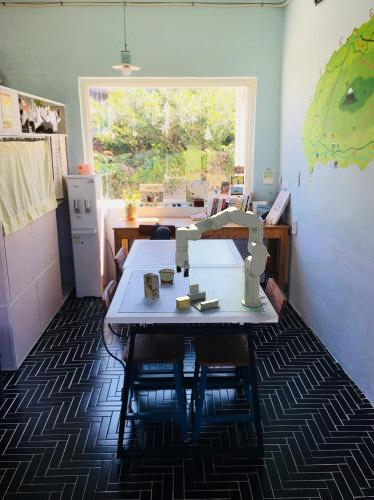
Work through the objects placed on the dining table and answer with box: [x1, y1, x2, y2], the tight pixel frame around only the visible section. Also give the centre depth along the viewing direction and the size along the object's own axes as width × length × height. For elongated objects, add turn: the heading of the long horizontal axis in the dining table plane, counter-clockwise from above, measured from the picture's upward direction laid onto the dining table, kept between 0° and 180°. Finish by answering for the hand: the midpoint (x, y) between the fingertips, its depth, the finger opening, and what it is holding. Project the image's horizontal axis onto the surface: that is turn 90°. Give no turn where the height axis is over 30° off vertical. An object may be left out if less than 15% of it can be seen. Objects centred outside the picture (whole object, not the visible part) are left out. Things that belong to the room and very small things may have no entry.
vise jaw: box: [186, 282, 207, 301], centre depth 274 cm, size 12×6×9 cm, turn 118°
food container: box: [158, 268, 176, 285], centre depth 306 cm, size 12×6×10 cm, turn 74°
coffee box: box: [142, 272, 160, 301], centre depth 278 cm, size 9×6×16 cm
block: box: [175, 295, 191, 312], centre depth 260 cm, size 8×4×7 cm, turn 118°
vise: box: [190, 296, 221, 313], centre depth 267 cm, size 14×20×5 cm
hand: (182, 274), depth 255 cm, fingers open, 9 cm apart
